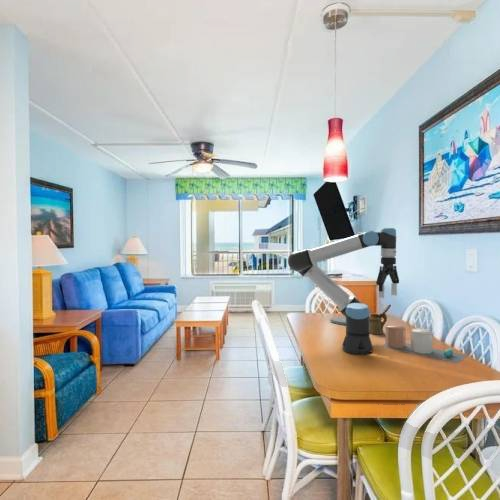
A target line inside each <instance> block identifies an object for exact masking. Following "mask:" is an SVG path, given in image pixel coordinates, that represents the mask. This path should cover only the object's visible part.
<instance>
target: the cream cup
mask: <svg viewBox="0 0 500 500" xmlns="http://www.w3.org/2000/svg"><path fill="white" fill-rule="evenodd" d="M433 338H434V333H433V331H432V330H431V329H426V328H419V327H417V328H412V329H411V331H410V344H411V350H412V351H414V352H418V353H432V352H433V349H434V348H433V347H434V345H433V344H434V343H433V341H434V339H433Z"/></svg>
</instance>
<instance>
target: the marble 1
mask: <svg viewBox="0 0 500 500" xmlns="http://www.w3.org/2000/svg"><path fill="white" fill-rule="evenodd" d="M443 351H444V356H445V357H450V356H451V353H450V352H449V351H446V350H443Z"/></svg>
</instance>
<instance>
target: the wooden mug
mask: <svg viewBox="0 0 500 500" xmlns="http://www.w3.org/2000/svg"><path fill="white" fill-rule="evenodd" d="M391 306H392V305H391V304H389V305H387V306H386V307H385V308H384V310H383V312H382V313H379V314H378V313H370V332H369V335H370V334H371V335H382V334H384V326H385V325H386V322H387V321H388V316H387V314H386V313H387V312H388V311H389V309H390V308H391ZM382 320H383V321H382Z"/></svg>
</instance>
